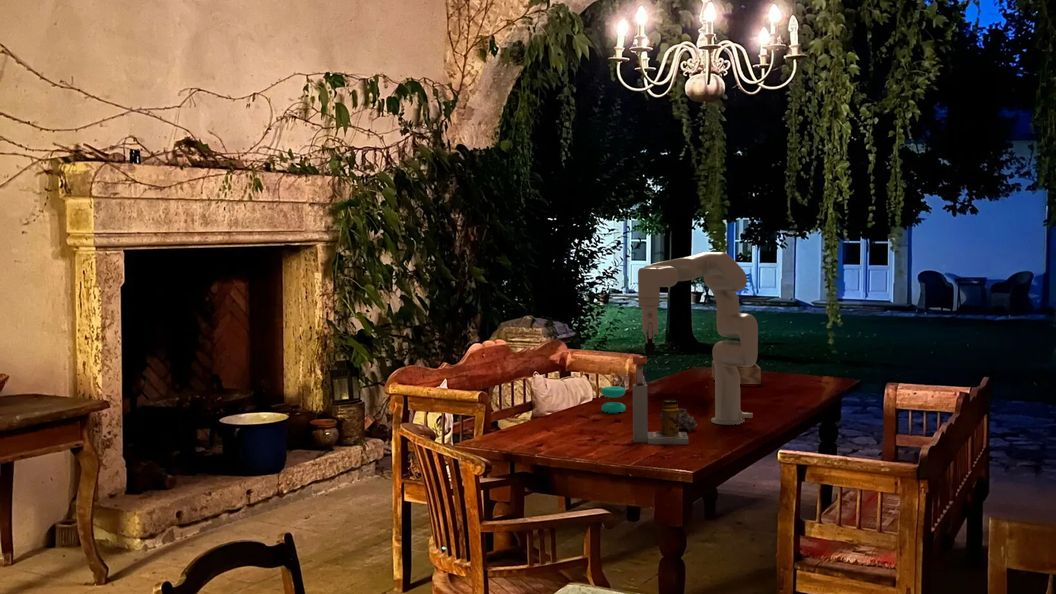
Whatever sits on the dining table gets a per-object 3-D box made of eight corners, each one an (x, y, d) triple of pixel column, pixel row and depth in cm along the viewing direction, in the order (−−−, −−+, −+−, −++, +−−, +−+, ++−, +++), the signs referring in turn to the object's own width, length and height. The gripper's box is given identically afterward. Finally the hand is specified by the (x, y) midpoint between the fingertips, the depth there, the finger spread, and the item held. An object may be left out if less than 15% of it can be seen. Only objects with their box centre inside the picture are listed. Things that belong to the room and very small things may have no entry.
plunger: (646, 391, 373) (646, 355, 372) (647, 394, 368) (647, 357, 367) (632, 391, 374) (632, 355, 373) (633, 394, 369) (632, 357, 368)
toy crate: (752, 378, 522) (752, 360, 521) (760, 387, 493) (760, 368, 492) (711, 378, 523) (711, 360, 523) (717, 387, 495) (717, 368, 494)
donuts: (627, 386, 435) (623, 389, 426) (627, 410, 436) (623, 414, 426) (603, 385, 438) (599, 389, 428) (603, 409, 438) (599, 413, 429)
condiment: (680, 436, 367) (680, 402, 367) (655, 436, 368) (655, 402, 367) (679, 432, 375) (679, 399, 374) (655, 432, 375) (655, 399, 375)
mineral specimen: (655, 420, 391) (671, 398, 391) (665, 424, 399) (680, 403, 398) (680, 438, 384) (696, 416, 384) (689, 443, 392) (704, 421, 392)
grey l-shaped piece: (686, 437, 377) (685, 382, 375) (688, 444, 365) (688, 387, 363) (633, 437, 378) (632, 382, 377) (633, 444, 366) (633, 387, 365)
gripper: (661, 304, 361) (661, 356, 362) (658, 300, 376) (659, 351, 377) (639, 304, 362) (640, 357, 363) (637, 301, 376) (638, 351, 378)
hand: (650, 354), depth 370 cm, fingers closed
